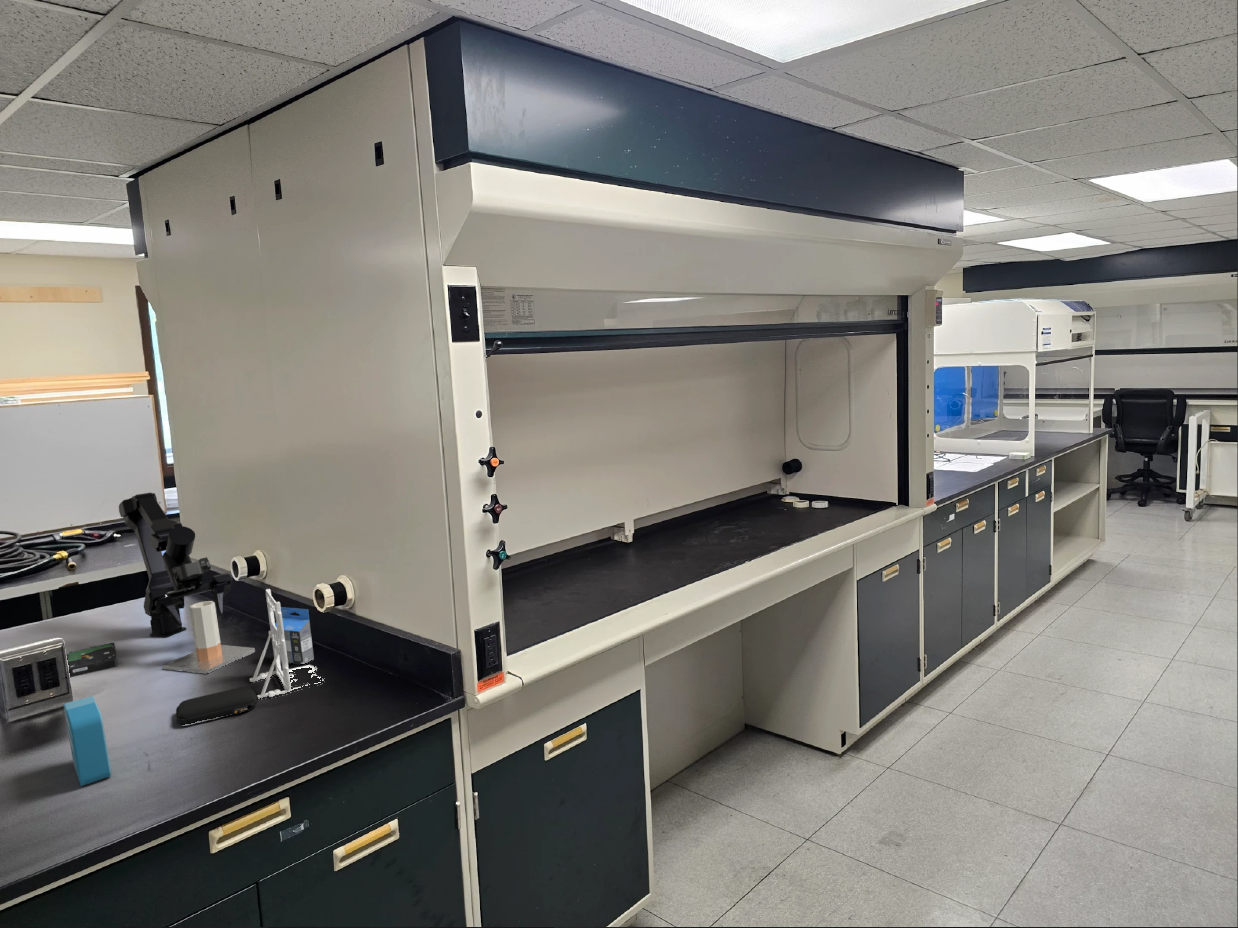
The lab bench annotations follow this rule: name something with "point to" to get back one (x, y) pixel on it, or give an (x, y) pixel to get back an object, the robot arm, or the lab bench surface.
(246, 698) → the carrying case or bag
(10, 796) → the lab bench surface
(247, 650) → the pin plate
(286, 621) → the label tape cartridge
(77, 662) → the disk drive
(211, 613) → the sleeve
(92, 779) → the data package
